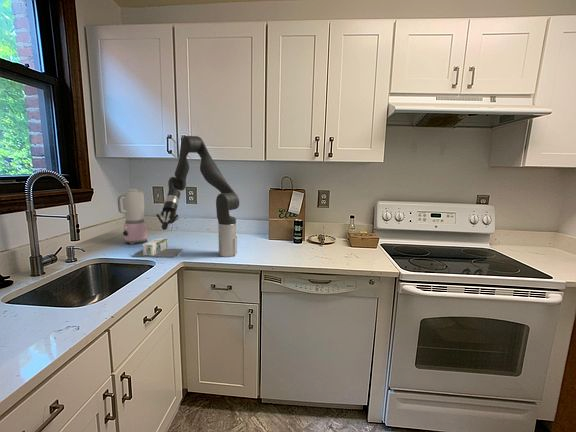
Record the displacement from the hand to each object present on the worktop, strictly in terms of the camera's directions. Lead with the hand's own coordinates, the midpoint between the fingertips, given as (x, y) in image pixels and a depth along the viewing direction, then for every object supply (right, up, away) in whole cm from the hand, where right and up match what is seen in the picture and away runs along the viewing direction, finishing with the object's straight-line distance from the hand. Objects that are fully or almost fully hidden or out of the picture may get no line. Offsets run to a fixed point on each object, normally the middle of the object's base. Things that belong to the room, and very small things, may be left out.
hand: (164, 229), depth 162 cm
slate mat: (0, -13, -8) cm, 15 cm away
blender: (-23, -9, +11) cm, 27 cm away
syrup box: (0, -8, 0) cm, 8 cm away
